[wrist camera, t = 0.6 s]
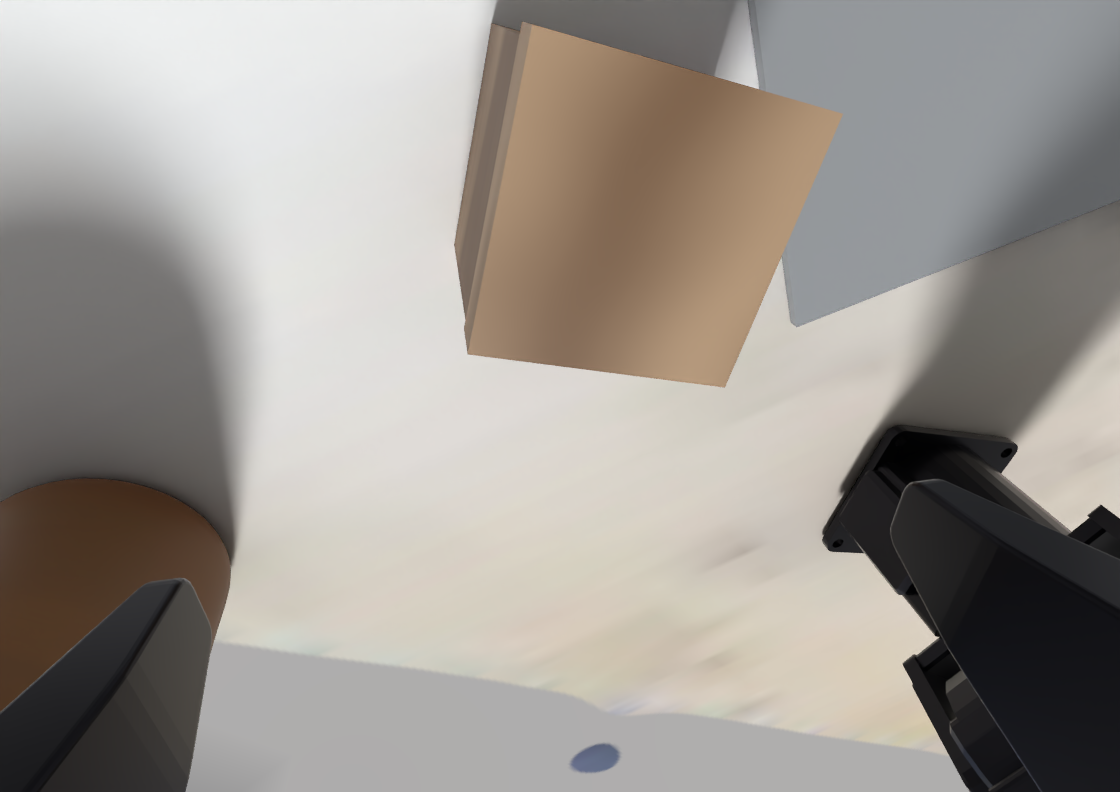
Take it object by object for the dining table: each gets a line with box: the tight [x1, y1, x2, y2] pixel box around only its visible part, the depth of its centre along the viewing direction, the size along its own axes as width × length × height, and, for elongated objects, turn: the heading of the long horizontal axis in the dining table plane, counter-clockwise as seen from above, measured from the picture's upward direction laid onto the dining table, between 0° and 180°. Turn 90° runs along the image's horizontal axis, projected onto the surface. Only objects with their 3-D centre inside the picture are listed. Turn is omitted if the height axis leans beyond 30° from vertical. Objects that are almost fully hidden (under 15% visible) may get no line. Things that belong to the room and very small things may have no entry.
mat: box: [748, 0, 1120, 327], centre depth 18 cm, size 16×12×1 cm
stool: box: [454, 22, 843, 387], centre depth 15 cm, size 6×6×6 cm
